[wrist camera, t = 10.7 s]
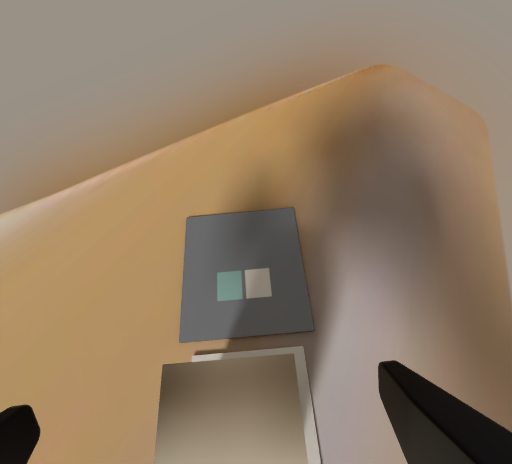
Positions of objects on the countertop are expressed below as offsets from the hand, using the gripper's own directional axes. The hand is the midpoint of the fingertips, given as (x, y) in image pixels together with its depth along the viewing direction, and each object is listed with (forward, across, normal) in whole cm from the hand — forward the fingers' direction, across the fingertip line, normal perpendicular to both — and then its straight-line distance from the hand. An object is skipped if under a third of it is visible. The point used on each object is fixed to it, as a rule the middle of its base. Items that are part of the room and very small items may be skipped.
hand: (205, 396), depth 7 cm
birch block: (+9, 0, +10) cm, 13 cm away
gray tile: (+16, 0, +3) cm, 16 cm away
